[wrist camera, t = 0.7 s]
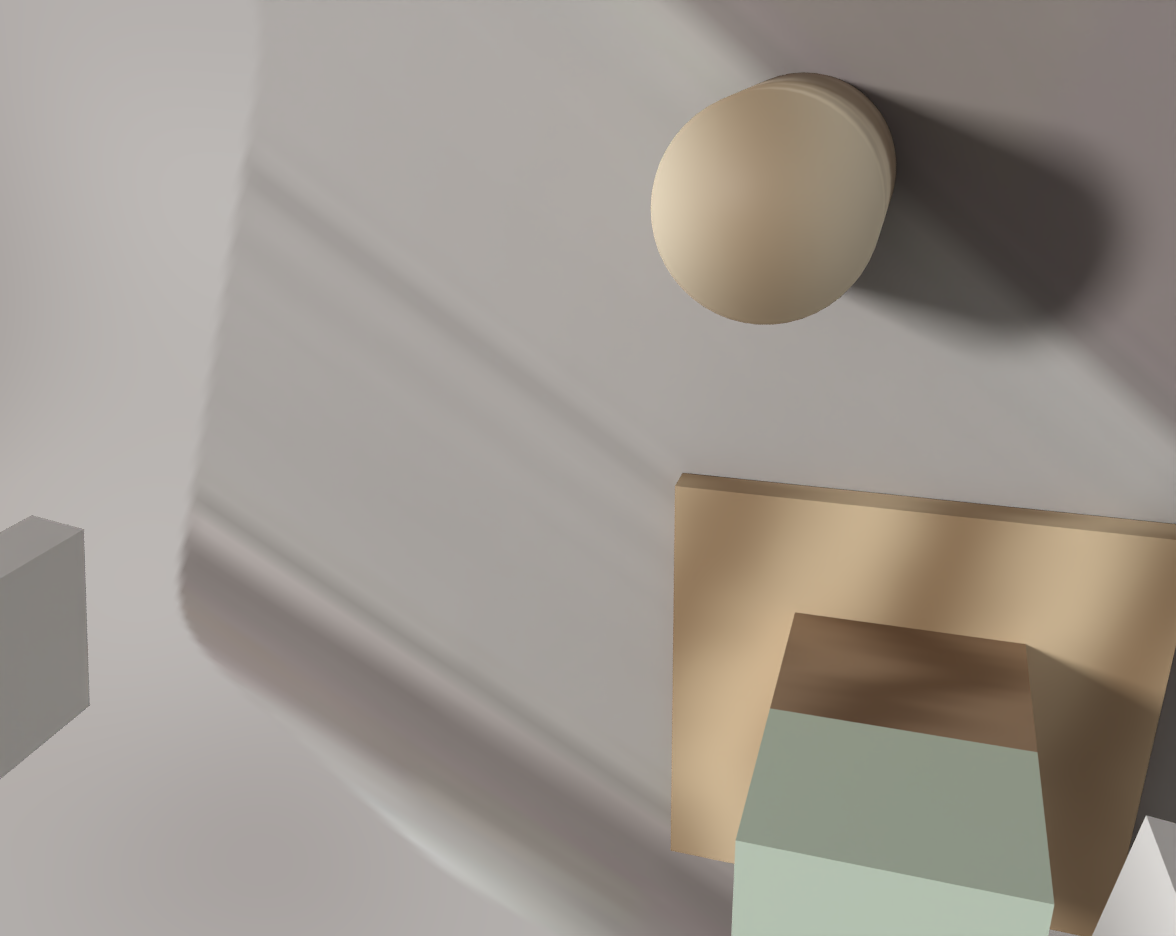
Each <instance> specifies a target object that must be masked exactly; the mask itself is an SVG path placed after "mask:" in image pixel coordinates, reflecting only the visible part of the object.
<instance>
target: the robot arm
mask: <svg viewBox="0 0 1176 936" xmlns="http://www.w3.org/2000/svg"><path fill="white" fill-rule="evenodd" d="M88 706H90V703H89V673H88V644H87V613H86V584H85V554H84V529H81V528H77V527H73V526H69V525H65V524H62V523H58V522H55V521H51V520H47V519H43V518H40V517H36V516H33V515H32V516H30V517H28V518H26V519H24V520H22V521H20V522H18V523H17V524H15V525H13V526H11V527H9V528H7V529H6V530H4V531H2V532H0V779H1V778H2V777H3V776H5V775H6V774H7V773H8V772H9V771H11V770H12V769H13V768H14V767H15V766H17V765H18V764H19V763H20V762H22V761H23V760H24V759H25V758H26V757H28V756H29V755H30V754H31V753H33V752H34V751H35V750H36V749H37V748H39V747H40V746H41V745H42V744H43V743H45V742H46V741H47V740H48V739H49V738H51V737H52V736H53V735H54V734H56V733H57V732H58V731H59V730H60V729H62V728H63V727H64V726H65V725H67V724H68V723H69V722H70V721H71V720H73V719H74V718H75V717H76V716H78V715H79V714H80V713H81V712H82V711H84V710H85V709H86V708H87V707H88ZM1092 936H1176V823H1173V822H1169V821H1165V820H1162V819H1158V818H1154V817H1151V816H1147V815H1146V817H1145V819H1144V821H1143V823H1142V826H1141V828H1140V830H1139V832H1138V835H1137V837H1136V839H1135V841H1134V843H1133V846H1132V848H1131V850H1130V852H1129V855H1128V857H1127V859H1126V861H1125V864H1124V866H1123V868H1122V870H1121V872H1120V875H1119V877H1118V879H1117V881H1116V884H1115V886H1114V888H1113V890H1112V893H1111V895H1110V897H1109V899H1108V901H1107V904H1106V906H1105V908H1104V910H1103V913H1102V915H1101V917H1100V919H1099V922H1098V924H1097V926H1096V928H1095V930H1094V933H1093V935H1092Z"/></svg>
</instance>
